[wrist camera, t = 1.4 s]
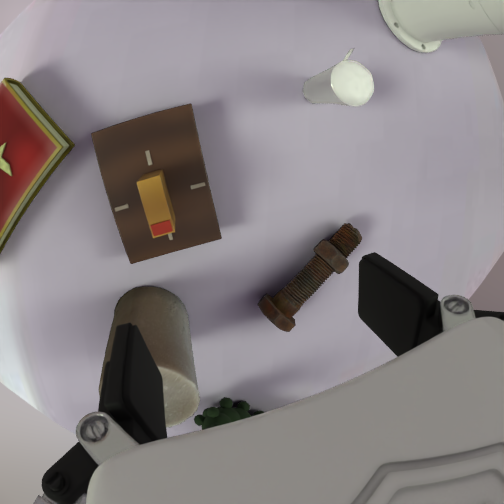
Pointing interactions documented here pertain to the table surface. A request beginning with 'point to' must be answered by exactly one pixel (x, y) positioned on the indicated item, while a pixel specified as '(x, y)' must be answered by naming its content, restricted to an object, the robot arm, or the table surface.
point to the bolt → (311, 277)
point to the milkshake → (341, 84)
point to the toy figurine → (224, 414)
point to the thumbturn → (157, 203)
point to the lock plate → (176, 176)
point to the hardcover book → (24, 152)
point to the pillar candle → (162, 346)
